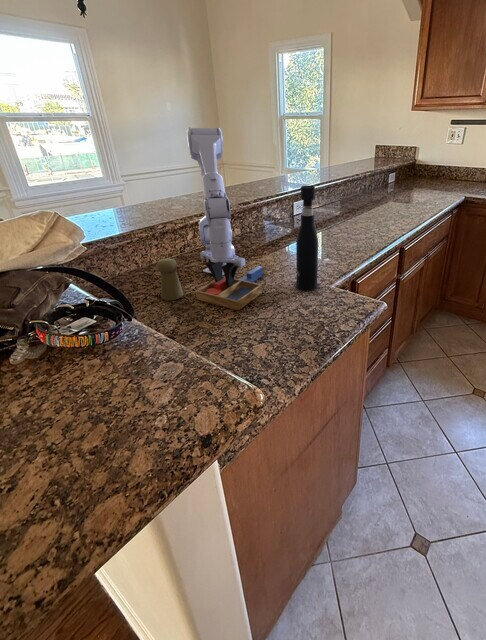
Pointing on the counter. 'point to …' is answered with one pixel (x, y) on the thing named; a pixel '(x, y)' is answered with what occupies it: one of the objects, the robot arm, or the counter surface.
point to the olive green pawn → (169, 280)
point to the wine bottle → (307, 244)
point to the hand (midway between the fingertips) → (224, 284)
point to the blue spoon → (253, 274)
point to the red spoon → (218, 287)
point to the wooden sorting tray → (231, 294)
